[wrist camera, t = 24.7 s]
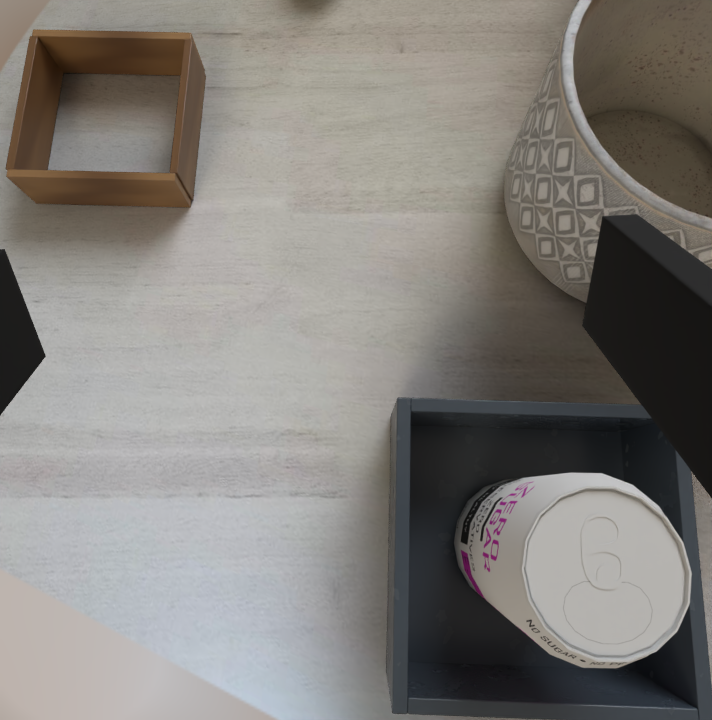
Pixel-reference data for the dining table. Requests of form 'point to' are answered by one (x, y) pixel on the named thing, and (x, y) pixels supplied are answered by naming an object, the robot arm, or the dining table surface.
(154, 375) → the dining table surface
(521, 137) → the planter
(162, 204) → the box
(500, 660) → the grey storage bin
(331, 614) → the dining table surface
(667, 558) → the supplement can
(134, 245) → the dining table surface
